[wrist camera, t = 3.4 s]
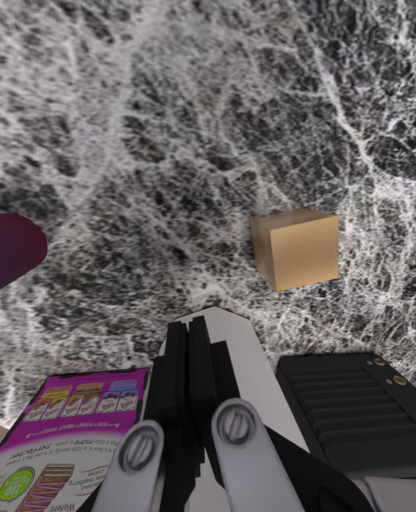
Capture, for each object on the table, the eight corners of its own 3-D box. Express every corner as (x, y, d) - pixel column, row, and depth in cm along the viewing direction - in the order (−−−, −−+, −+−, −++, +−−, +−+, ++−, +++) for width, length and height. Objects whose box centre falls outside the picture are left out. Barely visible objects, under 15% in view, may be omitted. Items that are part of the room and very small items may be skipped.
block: (249, 219, 19) (269, 230, 14) (301, 207, 19) (339, 214, 14) (256, 268, 21) (276, 292, 16) (304, 257, 21) (338, 278, 16)
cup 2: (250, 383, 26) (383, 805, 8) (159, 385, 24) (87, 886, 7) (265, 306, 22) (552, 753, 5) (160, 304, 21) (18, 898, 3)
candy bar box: (58, 407, 24) (-177, 805, 9) (47, 374, 22) (-268, 793, 7) (155, 397, 25) (101, 742, 9) (151, 366, 23) (77, 718, 8)
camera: (359, 409, 29) (519, 618, 15) (265, 416, 28) (344, 654, 14) (382, 348, 26) (618, 546, 12) (276, 353, 24) (398, 583, 10)
